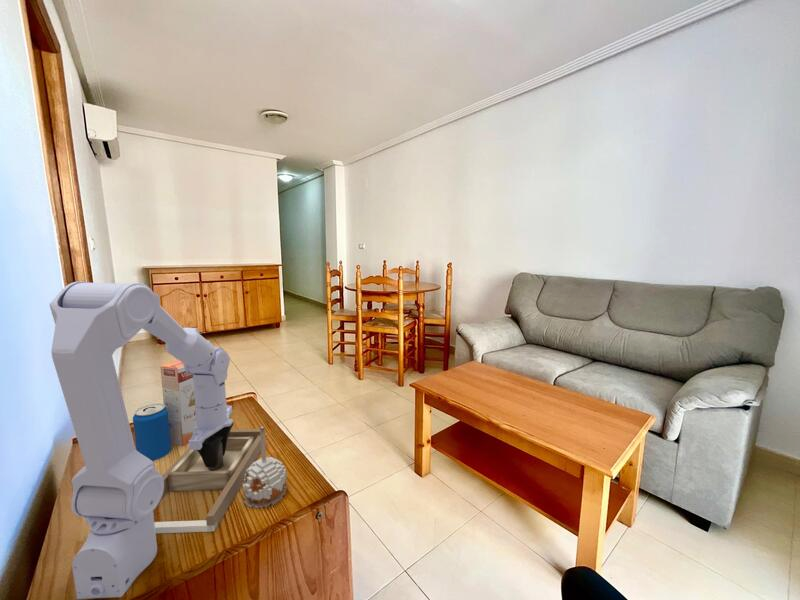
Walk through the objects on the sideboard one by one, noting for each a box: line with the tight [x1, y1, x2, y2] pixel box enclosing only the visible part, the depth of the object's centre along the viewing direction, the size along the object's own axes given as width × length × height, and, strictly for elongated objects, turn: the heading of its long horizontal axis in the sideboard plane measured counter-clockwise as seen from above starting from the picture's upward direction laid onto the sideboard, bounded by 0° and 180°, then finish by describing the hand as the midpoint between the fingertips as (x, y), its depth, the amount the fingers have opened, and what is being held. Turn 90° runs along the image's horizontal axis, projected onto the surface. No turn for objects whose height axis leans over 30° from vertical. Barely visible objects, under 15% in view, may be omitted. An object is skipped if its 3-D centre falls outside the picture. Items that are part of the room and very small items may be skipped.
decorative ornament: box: [242, 426, 288, 509], centre depth 65 cm, size 8×8×15 cm
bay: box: [154, 428, 261, 535], centre depth 69 cm, size 26×15×5 cm, turn 4°
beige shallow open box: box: [168, 437, 254, 492], centre depth 72 cm, size 13×12×6 cm
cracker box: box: [160, 359, 197, 447], centre depth 87 cm, size 14×6×21 cm, turn 164°
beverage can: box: [132, 403, 172, 462], centre depth 77 cm, size 6×6×12 cm
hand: (215, 460), depth 73 cm, fingers closed on beige shallow open box, 3 cm apart
